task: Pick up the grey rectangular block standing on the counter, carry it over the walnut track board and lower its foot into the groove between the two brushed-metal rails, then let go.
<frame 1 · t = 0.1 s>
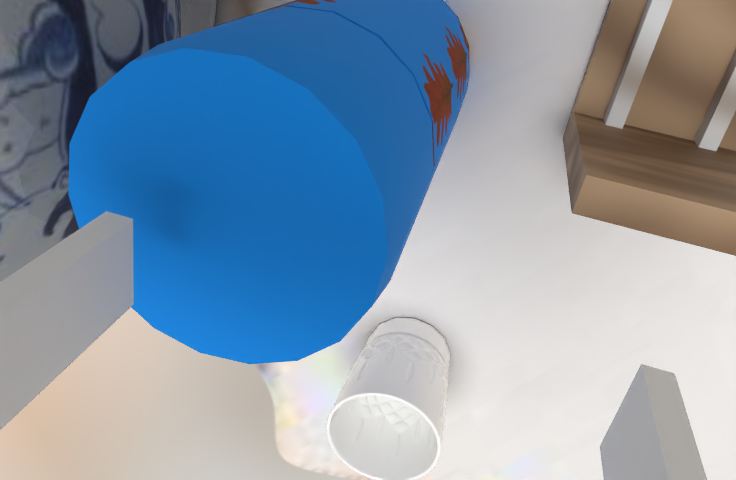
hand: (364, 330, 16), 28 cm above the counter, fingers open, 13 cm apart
white cup: (409, 349, 51), on the counter
thermos: (390, 63, 41), on the counter
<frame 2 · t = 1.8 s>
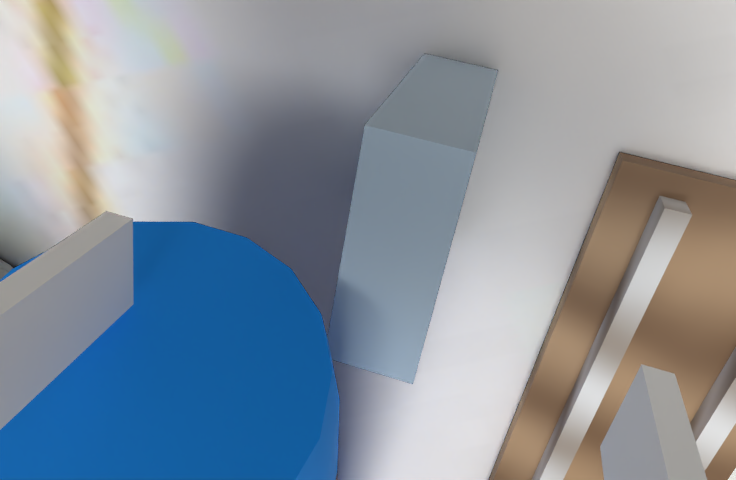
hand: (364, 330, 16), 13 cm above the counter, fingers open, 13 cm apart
grey rectangular block: (438, 154, 27), on the counter, touching thermos
track board: (624, 421, 31), on the counter
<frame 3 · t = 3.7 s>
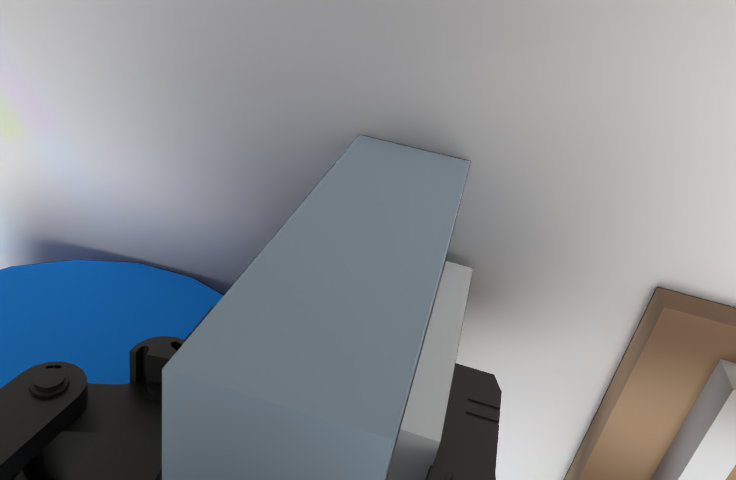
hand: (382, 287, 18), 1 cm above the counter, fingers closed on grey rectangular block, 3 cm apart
grey rectangular block: (387, 276, 18), on the counter, touching gripper
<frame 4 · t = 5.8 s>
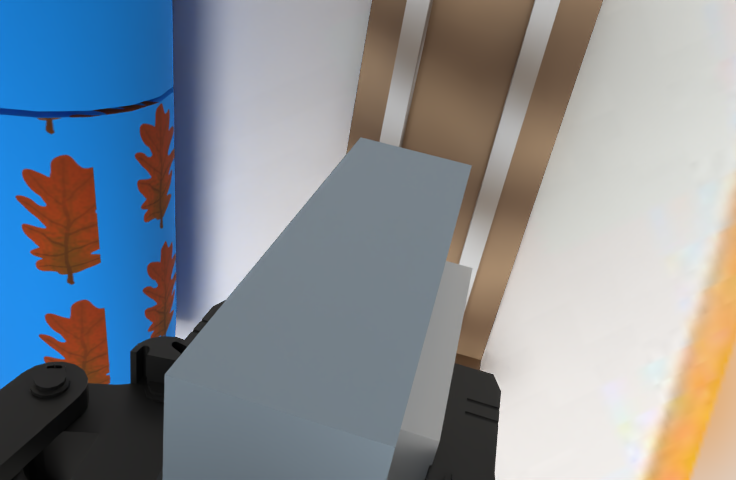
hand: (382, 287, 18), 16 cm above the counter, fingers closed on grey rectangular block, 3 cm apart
grey rectangular block: (386, 278, 18), point 16 cm above the counter, touching gripper
track board: (443, 161, 33), on the counter
thermos: (85, 358, 38), point 5 cm above the counter
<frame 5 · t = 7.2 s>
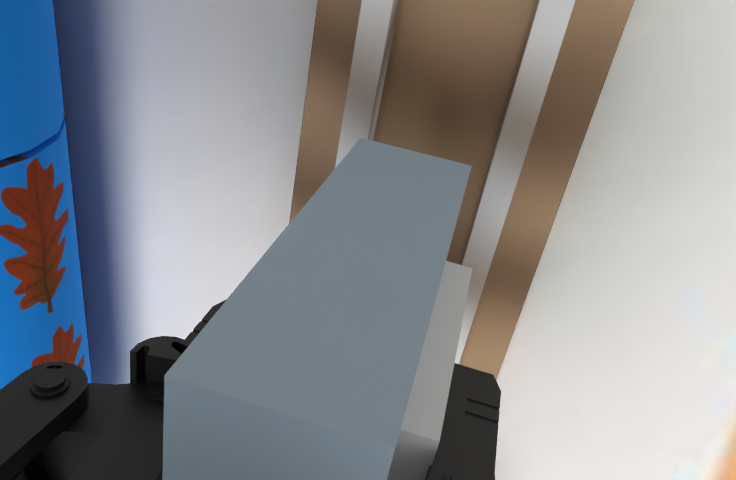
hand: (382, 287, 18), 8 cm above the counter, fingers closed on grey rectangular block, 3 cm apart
grey rectangular block: (386, 278, 18), point 7 cm above the counter, touching gripper
track board: (415, 224, 26), on the counter
when the fingers open (4 cm above the counter, at t = 8.2 s): grey rectangular block drops 2 cm, resting on track board.
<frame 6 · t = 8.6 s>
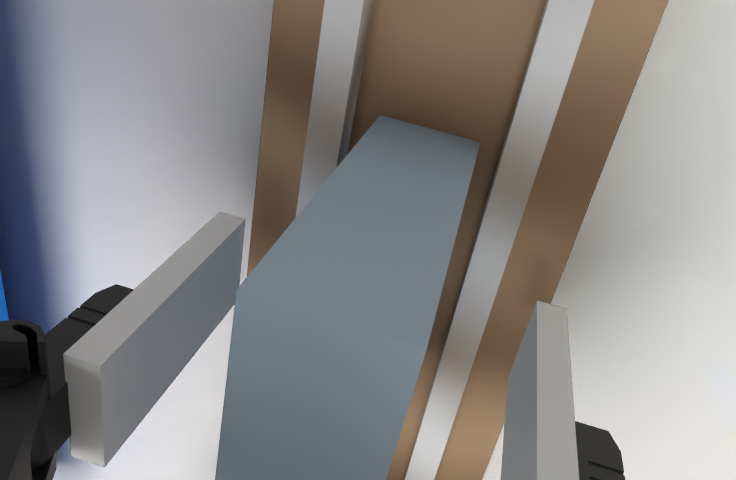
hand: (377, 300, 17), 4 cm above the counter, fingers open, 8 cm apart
grey rectangular block: (399, 246, 20), point 1 cm above the counter, touching track board
track board: (394, 283, 22), on the counter
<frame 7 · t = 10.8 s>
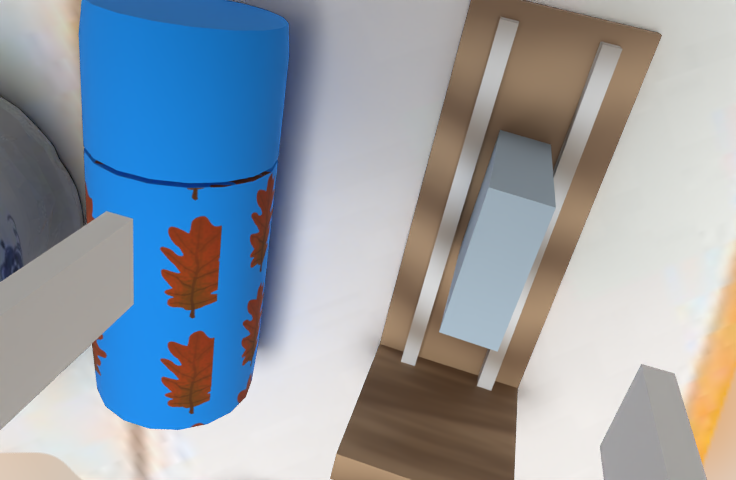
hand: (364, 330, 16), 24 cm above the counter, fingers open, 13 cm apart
grey rectangular block: (503, 199, 38), point 1 cm above the counter, touching track board
track board: (494, 222, 40), on the counter
thermos: (177, 378, 44), point 5 cm above the counter
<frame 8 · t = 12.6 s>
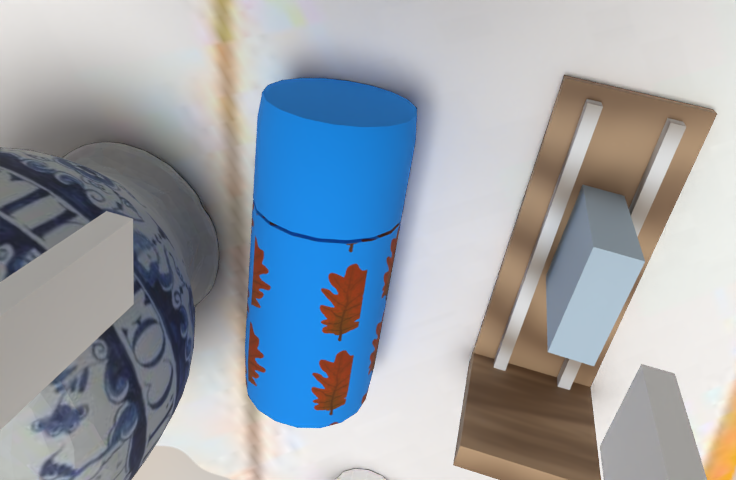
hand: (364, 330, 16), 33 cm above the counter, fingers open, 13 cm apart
grey rectangular block: (583, 237, 47), point 1 cm above the counter, touching track board
track board: (573, 254, 49), on the counter
thermos: (307, 384, 54), point 5 cm above the counter
apothecary jar: (132, 235, 58), on the counter
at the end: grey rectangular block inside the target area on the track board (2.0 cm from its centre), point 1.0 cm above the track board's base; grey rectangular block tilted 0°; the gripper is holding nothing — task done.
